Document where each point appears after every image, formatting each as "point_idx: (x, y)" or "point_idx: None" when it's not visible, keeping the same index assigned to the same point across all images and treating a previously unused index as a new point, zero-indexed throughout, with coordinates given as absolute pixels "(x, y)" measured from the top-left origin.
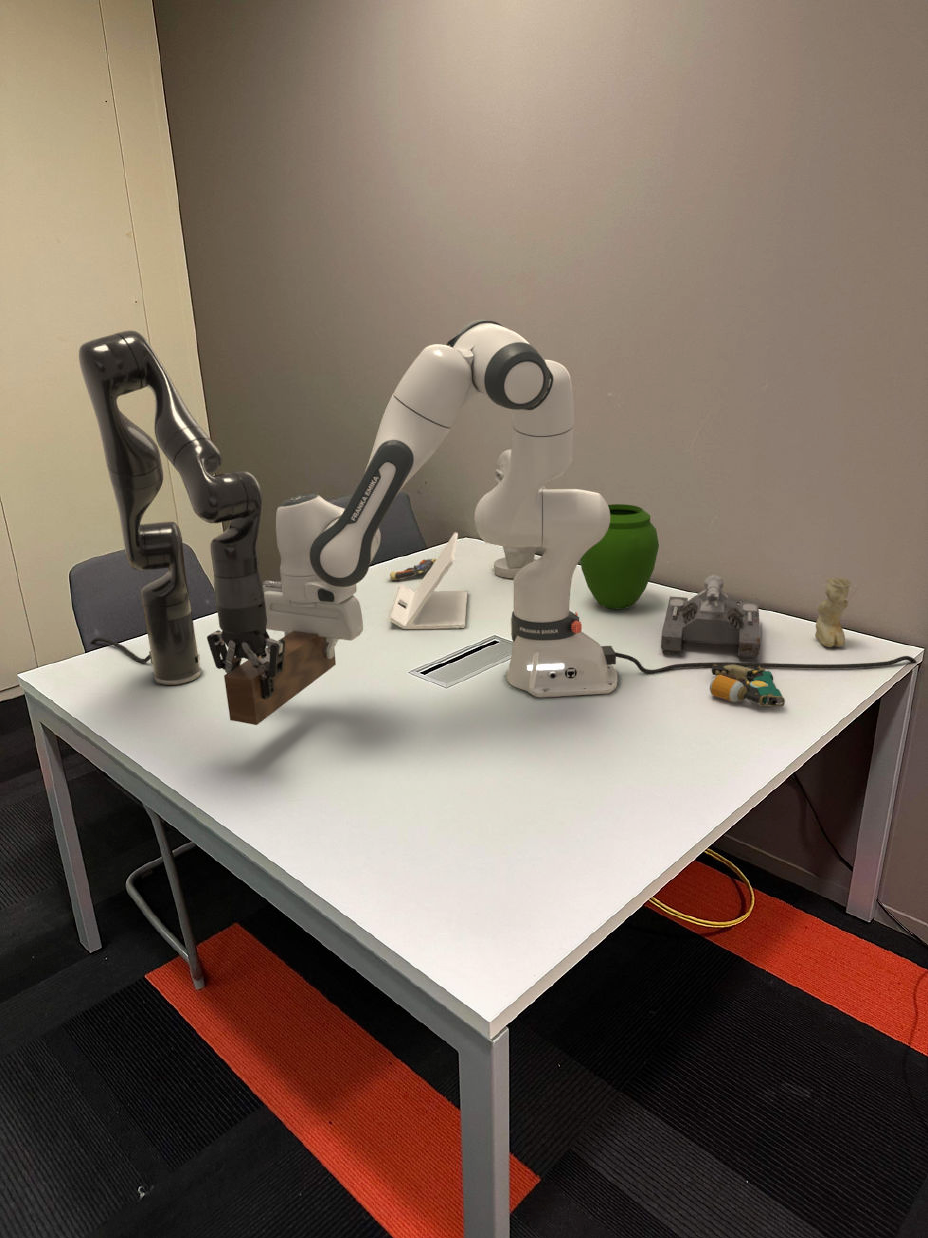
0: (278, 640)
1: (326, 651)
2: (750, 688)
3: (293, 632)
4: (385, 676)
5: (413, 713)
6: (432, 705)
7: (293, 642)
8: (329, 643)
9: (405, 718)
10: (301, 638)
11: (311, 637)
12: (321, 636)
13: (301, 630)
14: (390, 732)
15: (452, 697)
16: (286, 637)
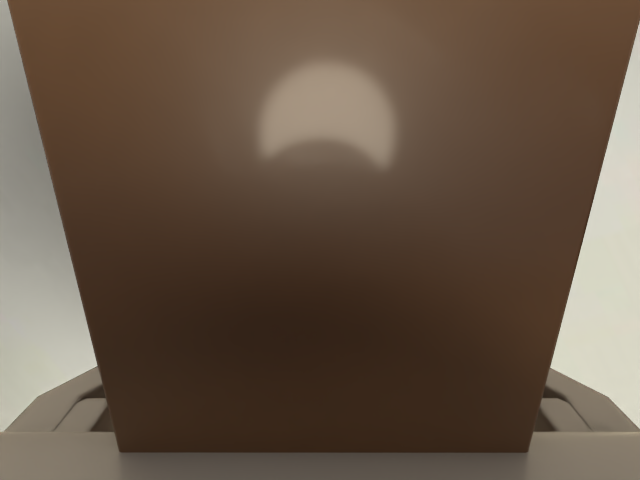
0: (635, 8)
1: None
2: None
3: (498, 409)
4: None
5: (52, 301)
6: (37, 357)
7: (264, 23)
8: (84, 391)
9: (51, 268)
10: (236, 249)
11: (109, 331)
12: (96, 433)
13: (391, 472)
14: (29, 173)
15: (21, 408)
16: (527, 211)
